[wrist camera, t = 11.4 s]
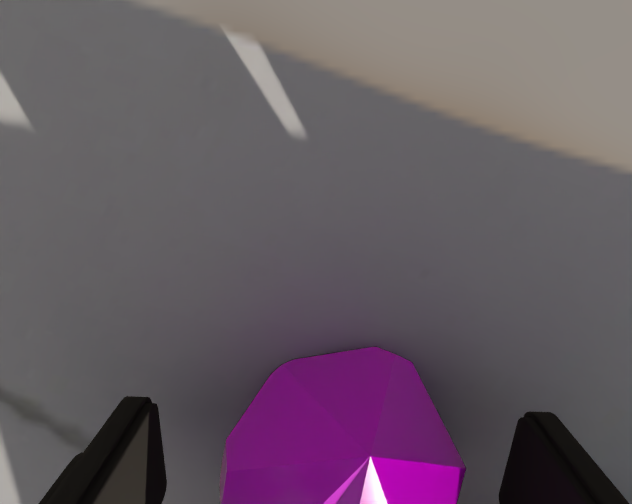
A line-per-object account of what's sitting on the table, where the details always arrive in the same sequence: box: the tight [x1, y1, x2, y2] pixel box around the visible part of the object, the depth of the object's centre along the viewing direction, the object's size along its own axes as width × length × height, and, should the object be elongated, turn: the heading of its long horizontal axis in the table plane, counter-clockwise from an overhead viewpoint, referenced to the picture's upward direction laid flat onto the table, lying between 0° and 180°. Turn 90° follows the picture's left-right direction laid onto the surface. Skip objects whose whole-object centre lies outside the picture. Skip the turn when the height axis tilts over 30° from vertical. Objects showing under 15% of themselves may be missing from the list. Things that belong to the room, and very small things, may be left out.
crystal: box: [219, 346, 466, 504], centre depth 9 cm, size 5×5×5 cm
